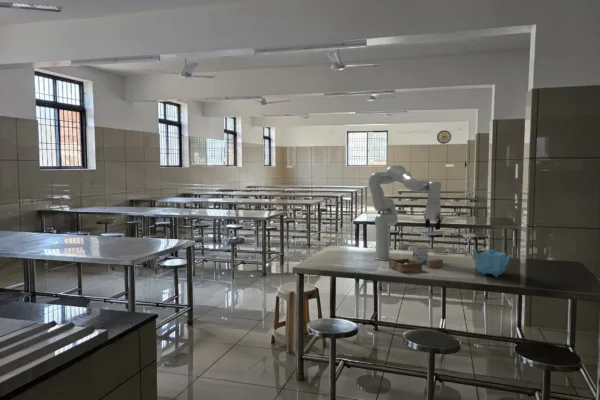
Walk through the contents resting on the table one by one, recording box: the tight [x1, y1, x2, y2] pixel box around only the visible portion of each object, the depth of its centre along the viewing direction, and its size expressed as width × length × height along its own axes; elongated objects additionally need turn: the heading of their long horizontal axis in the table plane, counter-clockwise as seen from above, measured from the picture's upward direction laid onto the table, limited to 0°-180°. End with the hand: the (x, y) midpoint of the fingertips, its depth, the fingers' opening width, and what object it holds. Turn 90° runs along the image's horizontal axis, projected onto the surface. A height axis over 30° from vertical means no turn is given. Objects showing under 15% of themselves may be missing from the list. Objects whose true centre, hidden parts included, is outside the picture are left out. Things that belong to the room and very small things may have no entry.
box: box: [388, 258, 423, 274], centre depth 281 cm, size 14×14×6 cm
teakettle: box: [470, 249, 514, 278], centre depth 274 cm, size 19×19×15 cm
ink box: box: [412, 244, 429, 265], centre depth 304 cm, size 9×5×12 cm, turn 105°
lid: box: [425, 258, 453, 272], centre depth 289 cm, size 16×16×6 cm
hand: (432, 228), depth 289 cm, fingers open, 9 cm apart
